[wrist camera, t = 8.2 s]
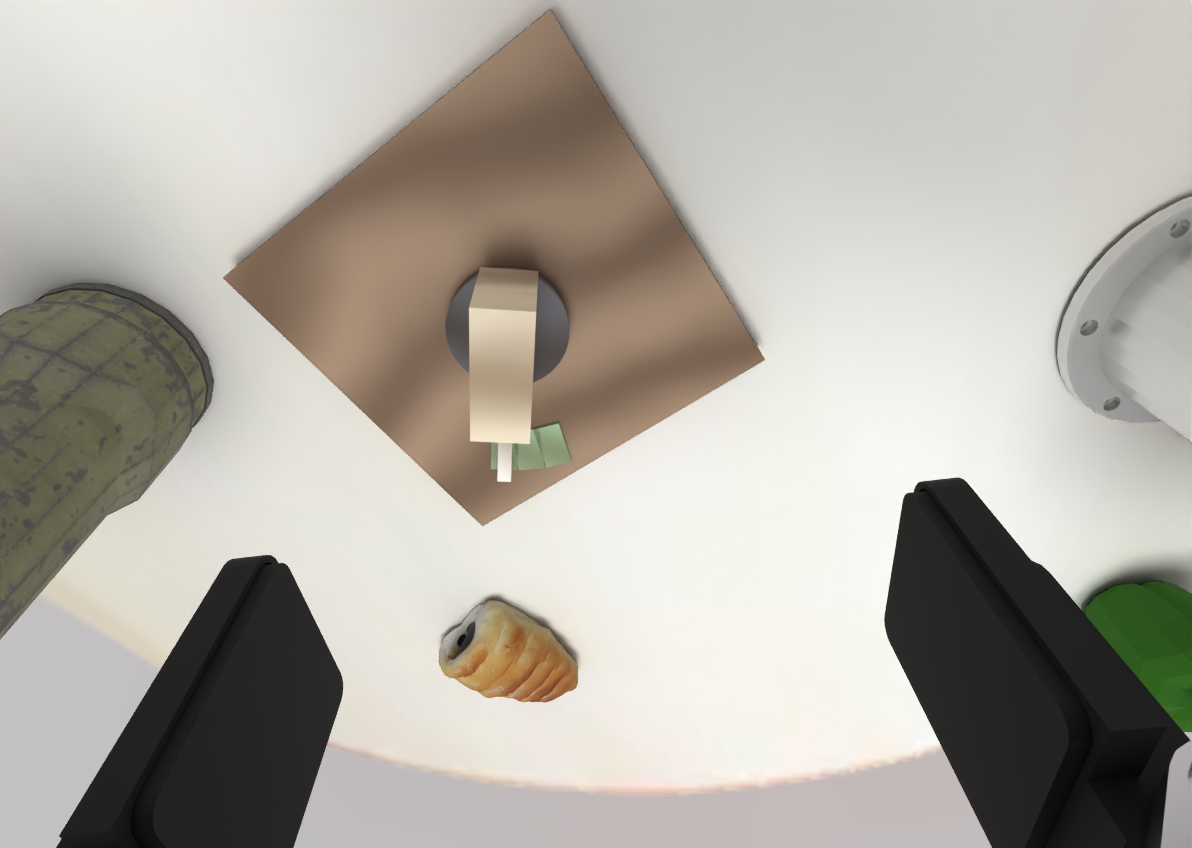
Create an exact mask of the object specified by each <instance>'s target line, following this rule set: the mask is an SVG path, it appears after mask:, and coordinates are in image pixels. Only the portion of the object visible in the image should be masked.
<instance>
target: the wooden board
mask: <svg viewBox="0 0 1192 848" xmlns="http://www.w3.org/2000/svg"><path fill="white" fill-rule="evenodd" d="M496 266H516V267H521V268H525V269H528V270H530V271H538V274H539V275H541V276H542V277H544V278H545V279H546V280H548V281H549V282H550V283H551V284H552V285H553V286H554V287H555V288H556V290H557V291H558V292H559V294H560V295H561V297H562V298H563V301H564V303H565V305H566V308H567V312H568V318H569V342H568V346H567V349H566V352H565V354H564V356H563V358H562V360H561V361H560V363H559V364H558V365H557V366H556V368H555V369H554V370H553V371H551V372H550V373H549V374H548V375H546V376H545V377H544V378H542V379H540V380H538V381H536V382H533V394H532V412H531V431H530V444H518V443H512V474H511V482H500V481H497V475H498V443H496V442H475V441H470V373H468V372H467V371H466V370H465V369H464V368H463V367H462V366H461V365H460V364H459V363H458V362H457V360H456V359H455V358H454V356H453V354H452V352H451V351H450V348H449V346H448V343H447V338H446V332H445V323H446V317H447V313H448V310H449V307H450V304H451V301H452V298H453V296H454V294H455V293H456V291H457V290H458V288H459V287H460V286H461V285H462V284H463V283H464V282H465V281H466V280H467V279H468V278H469V277H471V276H472V275H474V274H476V273H477V272H479V269H480V267H486V268H491V267H496ZM223 279H224V280H226V281H227V282H228V283H229V284H230V285H231V286H232V287H233V288H234V289H235V290H236V291H237V292H238V293H239V294H240V295H241V296H242V297H243V298H244V299H245V300H246V301H247V302H249V303H250V304H251V305H252V306H253V307H254V308H255V309H256V310H257V311H258V312H259V313H260V314H261V315H262V316H263V317H264V318H265V319H266V320H267V321H268V322H269V323H271V324H272V325H273V326H274V327H275V328H276V329H277V330H278V331H279V332H280V333H281V334H282V335H283V336H284V337H285V338H286V339H287V340H288V341H289V342H290V343H291V344H292V345H294V346H295V347H296V348H297V349H298V350H299V351H300V352H301V353H302V354H303V355H304V356H305V357H306V358H307V359H308V360H309V361H310V362H311V363H312V364H313V365H314V366H315V367H317V368H318V369H319V370H320V371H321V372H322V373H323V374H324V375H325V376H326V377H327V378H328V379H329V380H330V381H331V382H332V383H333V384H334V385H335V386H336V387H337V388H338V389H340V390H341V391H342V392H343V393H344V394H345V395H346V396H347V397H348V398H349V399H350V400H351V401H352V402H353V403H354V404H355V405H356V406H357V407H358V408H359V409H360V410H362V411H363V412H364V413H365V414H366V415H367V416H368V417H369V418H370V419H371V420H372V421H373V422H374V423H375V424H376V425H377V426H378V427H379V428H380V429H381V430H382V431H383V432H385V433H386V434H387V435H388V436H389V437H390V438H391V439H392V440H393V441H394V442H395V443H396V444H397V445H398V446H399V447H400V448H401V449H402V450H403V451H404V452H405V453H406V454H408V455H409V456H410V457H411V458H412V459H413V460H414V461H415V462H416V463H417V464H418V465H419V466H420V467H421V468H422V469H423V470H424V471H425V472H426V473H427V474H428V475H429V476H431V477H432V478H433V479H434V480H435V481H436V482H437V483H438V484H439V485H440V486H441V487H442V488H443V489H444V490H445V491H446V492H447V493H448V494H449V495H450V496H451V497H452V498H454V499H455V500H456V501H457V502H458V503H459V504H460V505H461V506H462V507H463V508H464V509H465V510H466V511H467V512H468V513H469V514H470V515H471V516H472V517H473V518H474V519H476V520H477V521H478V522H479V523H480V524H481V525H482V526H484V525H485V524H487V523H489V522H491V521H492V520H494V519H496V518H497V517H499V516H501V515H502V514H504V513H506V512H508V511H509V510H511V509H513V508H514V507H516V506H518V505H519V504H521V503H523V502H525V501H526V500H528V499H530V498H531V497H533V496H535V495H536V494H538V493H540V492H542V491H543V490H545V489H547V488H548V487H550V486H552V485H553V484H555V483H557V482H558V481H560V480H562V479H564V478H565V477H567V476H569V475H570V474H572V473H574V472H575V471H577V470H579V469H581V468H582V467H584V466H586V465H587V464H589V463H591V462H592V461H594V460H596V459H598V458H599V457H601V456H603V455H604V454H606V453H608V452H609V451H611V450H613V449H615V448H616V447H618V446H620V445H621V444H623V443H625V442H626V441H628V440H630V439H632V438H633V437H635V436H637V435H638V434H640V433H642V432H643V431H645V430H647V429H649V428H650V427H652V426H654V425H655V424H657V423H659V422H660V421H662V420H664V419H665V418H667V417H669V416H671V415H672V414H674V413H676V412H677V411H679V410H681V409H682V408H684V407H686V406H688V405H689V404H691V403H693V402H694V401H696V400H698V399H699V398H701V397H703V396H705V395H706V394H708V393H710V392H711V391H713V390H715V389H716V388H718V387H720V386H722V385H723V384H725V383H727V382H728V381H730V380H732V379H733V378H735V377H737V376H739V375H740V374H742V373H744V372H745V371H747V370H749V369H750V368H752V367H754V366H755V365H757V364H759V363H761V362H762V361H764V360H765V359H764V357H763V356H762V354H761V352H760V350H759V349H758V347H757V345H756V344H755V342H754V340H753V339H752V337H751V335H750V334H749V332H748V331H747V329H746V327H745V326H744V324H743V322H742V321H741V319H740V318H739V316H738V314H737V313H736V311H735V309H734V308H733V306H732V305H731V303H730V301H729V300H728V298H727V296H726V295H725V293H724V292H723V290H722V288H721V287H720V285H719V283H718V282H717V280H716V278H715V277H714V275H713V274H712V272H711V270H710V269H709V267H708V265H707V264H706V262H705V261H704V259H703V257H702V256H701V254H700V252H699V251H698V249H697V248H696V246H695V244H694V243H693V241H692V239H691V238H690V236H689V234H688V233H687V231H686V230H685V228H684V226H683V225H682V223H681V221H680V220H679V218H678V217H677V215H676V213H675V212H674V210H673V208H672V207H671V205H670V204H669V202H668V200H667V199H666V197H665V195H664V194H663V192H662V191H661V189H660V187H659V186H658V184H657V182H656V181H655V179H654V177H653V176H652V174H651V173H650V171H649V169H648V168H647V166H646V164H645V163H644V161H643V160H642V158H641V156H640V155H639V153H638V151H637V150H636V148H635V147H634V145H633V143H632V142H631V140H630V138H629V137H628V135H627V133H626V132H625V130H624V129H623V127H622V125H621V124H620V122H619V120H618V119H617V117H616V116H615V114H614V112H613V111H612V109H611V107H610V106H609V104H608V103H607V101H606V99H605V98H604V96H603V94H602V93H601V91H600V90H599V88H598V86H597V85H596V83H595V81H594V80H593V78H592V76H591V75H590V73H589V72H588V70H587V68H586V67H585V65H584V63H583V62H582V60H581V59H580V57H579V55H578V54H577V52H576V50H575V49H574V47H573V46H572V44H571V42H570V41H569V39H568V37H567V36H566V34H565V33H564V31H563V29H562V28H561V26H560V24H559V23H558V21H557V19H556V18H555V16H554V15H553V13H552V11H551V10H549V11H548V12H546V13H545V14H544V15H543V16H541V17H540V18H539V19H538V20H537V21H535V22H534V23H533V24H532V25H530V26H529V27H528V28H527V29H526V30H524V31H523V32H522V33H521V34H519V35H518V36H517V37H516V38H515V39H513V40H512V41H511V42H510V43H508V44H507V45H506V46H505V47H504V48H502V49H501V50H500V51H499V52H497V53H496V54H495V55H494V56H493V57H491V58H490V59H489V60H488V61H486V62H485V63H484V64H483V65H482V66H480V67H479V68H478V69H477V70H475V71H474V72H473V73H472V74H471V75H469V76H468V77H467V78H466V79H464V80H463V81H462V82H461V83H460V84H458V85H457V86H456V87H455V88H453V89H452V90H451V91H450V92H449V93H447V94H446V95H445V96H444V97H442V98H441V99H440V100H439V101H438V102H436V103H435V104H434V105H433V106H432V107H430V108H429V109H428V110H427V111H425V112H424V113H423V114H422V115H421V116H419V117H418V118H417V119H416V120H414V121H413V122H412V123H411V124H410V125H408V126H407V127H406V128H405V129H403V130H402V131H401V132H400V133H399V134H397V135H396V136H395V137H394V138H392V139H391V140H390V141H389V142H388V143H386V144H385V145H384V146H383V147H381V148H380V149H379V150H378V151H377V152H375V153H374V154H373V155H372V156H370V157H369V158H368V159H367V160H366V161H364V162H363V163H362V164H361V165H359V166H358V167H357V168H356V169H355V170H353V171H352V172H351V173H350V174H348V175H347V176H346V177H345V178H344V179H342V180H341V181H340V182H339V183H337V184H336V185H335V186H334V187H333V188H331V189H330V190H329V191H328V192H326V193H325V194H324V195H323V196H322V197H320V198H319V199H318V200H317V201H316V202H314V203H313V204H312V205H311V206H309V207H308V208H307V209H306V210H305V211H303V212H302V213H301V214H300V215H298V216H297V217H296V218H295V219H294V220H292V221H291V222H290V223H289V224H287V225H286V226H285V227H284V228H283V229H281V230H280V231H279V232H278V233H276V234H275V235H274V236H273V237H272V238H270V239H269V240H268V241H267V242H265V243H264V244H263V245H262V246H261V247H259V248H258V249H257V250H256V251H254V252H253V253H252V254H251V255H250V256H248V257H247V258H246V259H245V260H243V261H242V262H241V263H240V264H239V265H237V266H236V267H235V268H234V269H233V270H231V271H230V272H229V273H228V274H227V275H226V276H224V277H223Z"/></svg>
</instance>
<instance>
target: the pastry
mask: <svg viewBox="0 0 1192 848" xmlns="http://www.w3.org/2000/svg"><path fill="white" fill-rule="evenodd" d="M439 665H440V667H441V669H442V671H443V673H444V675H446V676H448V677H449V678H455V679H456V680H457V681H459V682H460V683H462V684H463V685H465V686H466V687H468V688H470V689H472V690H475V691H478V692H479V693H480V694H482V695H483V696H485V697H487V698H493V697H507V698H514V699H516V700H518V701H521V702H528V701H530V702H549V701H552V700H554V699H556V698H557V697H559V696H561V695H563V694H564V693H566V692H568V691H572V690H574V689H575V688H576V686H577V683H578V666H577V664H576V662H575V661H574V660H573V659H572V657H571V656H570V655H569V654H568V653H567V652H566V651H565V650H564V648H563V647H562V645H561V644H560V643H559V642H558V641H557V640H556V639H555V637H554V636H553V634H552V632H551V630H550V629H549V628H548V627H545V626H541V625H540V624H539V623H538V622H537V621H535V620H533V619H531V618H530V617H529V616H527V615H526V614H525V613H523V612H522V611H520V610H518V609H516V608H514V607H512V606H511V605H509V604H506V603H503V602H501V601H498V600H488V601H486V603H484V604H479V605H478V606H477V607H475V608H474V609H473V610H471V611H470V613H469V615H468V616H467V617H466V618H465V619H464V621H463V622H462V624H461V626H459V627H457V628H455V629H454V630H452V631H451V632H450V633H449V634H447V636H445V637H444V639H443V641H442V643H441V646H440V650H439Z"/></svg>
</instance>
